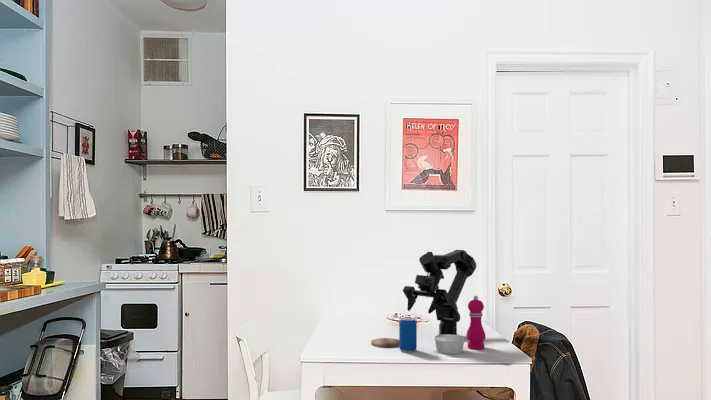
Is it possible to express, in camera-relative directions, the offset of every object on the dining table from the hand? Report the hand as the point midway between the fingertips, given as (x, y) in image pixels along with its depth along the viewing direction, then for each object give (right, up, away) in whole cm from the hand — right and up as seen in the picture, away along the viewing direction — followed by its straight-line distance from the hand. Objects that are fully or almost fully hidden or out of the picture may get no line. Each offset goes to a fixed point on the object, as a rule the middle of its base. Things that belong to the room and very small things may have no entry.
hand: (418, 311), depth 218 cm
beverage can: (-5, -14, -7) cm, 16 cm away
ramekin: (+11, -14, -7) cm, 19 cm away
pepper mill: (+22, -14, -2) cm, 26 cm away
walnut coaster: (-12, -14, +4) cm, 19 cm away
